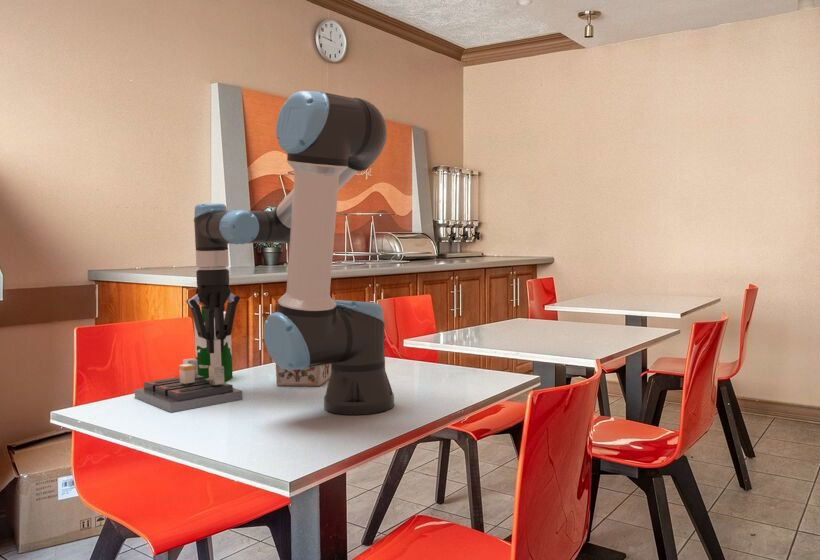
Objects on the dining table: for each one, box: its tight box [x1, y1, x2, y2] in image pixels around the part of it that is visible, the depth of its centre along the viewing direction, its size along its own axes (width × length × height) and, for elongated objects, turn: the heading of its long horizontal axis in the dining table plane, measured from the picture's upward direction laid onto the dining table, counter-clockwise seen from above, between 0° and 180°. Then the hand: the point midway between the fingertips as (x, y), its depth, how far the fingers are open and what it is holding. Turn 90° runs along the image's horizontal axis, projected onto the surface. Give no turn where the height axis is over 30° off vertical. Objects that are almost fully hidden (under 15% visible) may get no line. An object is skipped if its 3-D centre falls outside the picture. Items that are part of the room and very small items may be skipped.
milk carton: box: [192, 305, 233, 383], centre depth 184 cm, size 9×9×20 cm
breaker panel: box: [133, 357, 243, 413], centre depth 163 cm, size 21×17×8 cm
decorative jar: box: [275, 363, 331, 387], centre depth 179 cm, size 12×12×18 cm
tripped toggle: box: [178, 363, 195, 384], centre depth 163 cm, size 3×2×4 cm
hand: (216, 366), depth 168 cm, fingers closed
